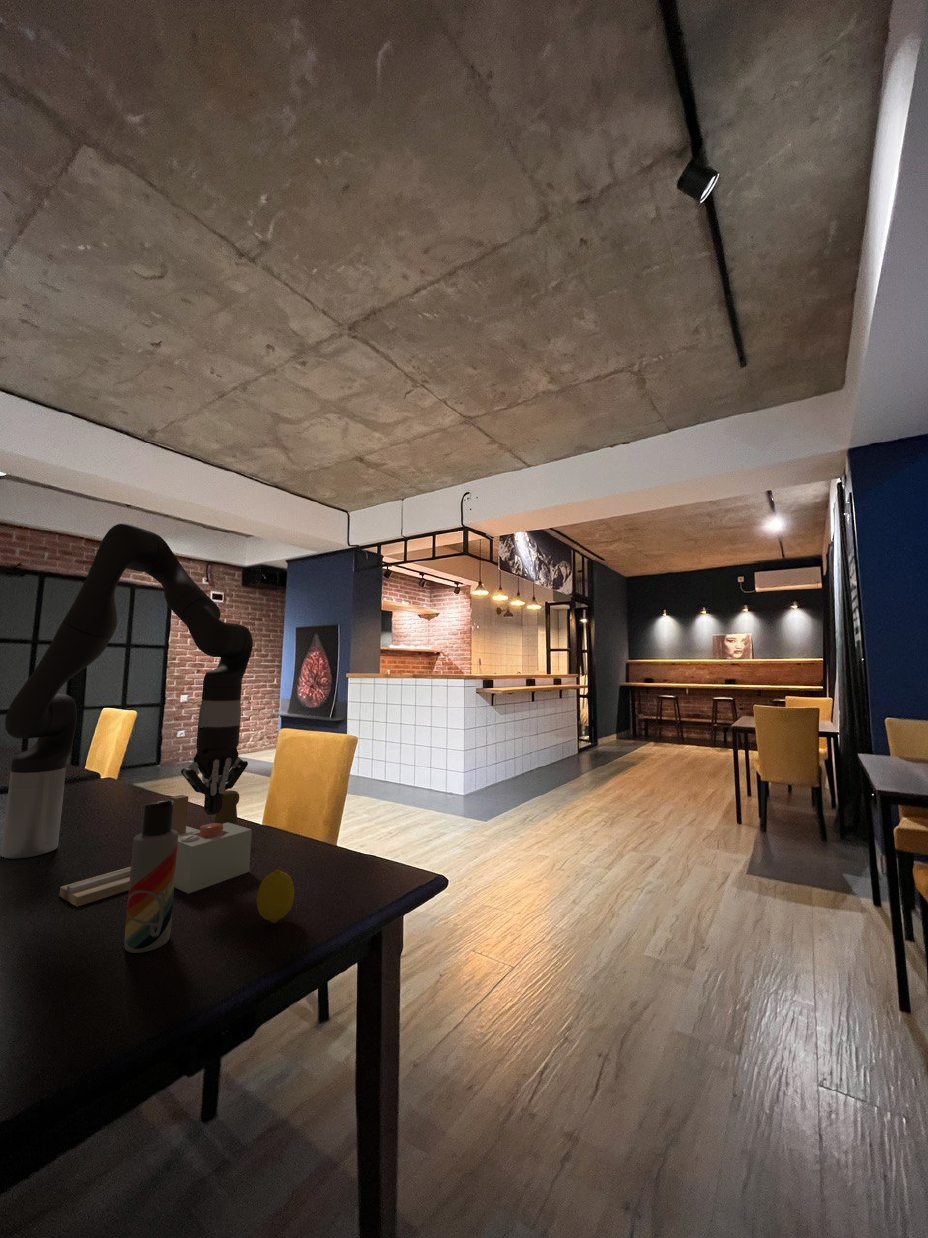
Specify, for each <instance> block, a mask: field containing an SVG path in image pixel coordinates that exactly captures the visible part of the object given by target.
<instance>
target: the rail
mask: <svg viewBox="0 0 928 1238" xmlns="http://www.w3.org/2000/svg"><path fill="white" fill-rule="evenodd" d="M130 872H131V866H128V867H125V868H122V869H118V870H114V871H110V872H108V873H107V872H106V873H104V874H100V875H97V876H93V877H90V878H86V879H83V880H79V881H76V882H72V883H70V884H65V885H62V886H60V887H59V888H60V889H59V895H58V896H59V897H61V898H62V899H63V900H65V901H67V902H69V904H72V905H73V906H75V907H81V906H84V905H87V904H90V903H94V902H96V901H100V900H101V899H102V900H103V899H105V898H109V897H112V896H115V895H118V894H122V893H124V892H127V891H129V883H130Z"/></svg>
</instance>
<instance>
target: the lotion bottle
mask: <svg viewBox="0 0 928 1238" xmlns="http://www.w3.org/2000/svg"><path fill="white" fill-rule="evenodd" d="M173 807H174V801H173V800H170V799H165V800H161V801H157V802H151V803H146V804H144V805H143V812H142V813H143V814H142V820H141V821H142V822H141V832H140V833H138V834H137V835H135V836H134V837H133V841H132V842H133V843H132V849H131V852H132V853H131V861H130V867H131V872H130V883H129V890H128V896H127V907H126V917H125V918H126V920H125V930H124V931H125V933H124V942H123V943H124V949H125V951H126V952H128V953H132V954H133V953H134V954H141V953H146V952H147V953H148V952H149V951H150V952H151V951H154V950H156V949H158V948H160V947H162V946H164V945H165V944H167V942H168V941H169V940H170V937H171V931H172V919H173V918H172V917H173V905H174V895H175V894H174V893H175V887H174V884H175V871H176V858H177V846H178V832H177V831H176V830H172V821H173Z"/></svg>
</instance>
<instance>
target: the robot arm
mask: <svg viewBox="0 0 928 1238" xmlns="http://www.w3.org/2000/svg"><path fill="white" fill-rule="evenodd" d="M126 569H127V570H131V571H136V572H141V573H145V574H147V575H149V576H150V577H152V578H153V579H155V580H156V581H157V582H158V583H160V585H161V586H162V588H163V592H164V593H163V594H164V598H165V601H166V604H167V605H168V607H169V608H170V610H171V611H172V612H173V613H174V614H175V616H177V617H178V618H179V620H181V622H182V623H184V625H185V626H186V627H187V629H188V631H189V634H190V636H191V638H192V640H193V642H194V644H195V646H196V647H197V648H198V649H199V650H200V652H201V653H203V654H205V655H207V656H209V657H212V658H220V659H219V663H218V665H217V667H216V668H214V669H212V670H208V671H207V672H206V673H205V674H204V676H203V681H202V682H203V683H202V688H201V689H202V691H201V693H202V694H201V701H200V702H201V703H200V707H199V712H198V722H197V735H196V744H195V747H196V754H195V756H194V757H193V762H192V763H191V764H190V765H188V767H183V768H182V769H181V771H180V774H182V776H183V778H184V779H185V780H186V781H187V783H188V784H189V785H190V787H191V788H192V789H193V790H194V792H196V793H200V794H203V795H204V802H203V803H204V805H203V811H204V812H205V814H206V815H209V816H215V815H216V814H218V813H219V810H221V808H222V799H223V793H224V791H228V790H230V789H233V788H234V786H235V784H236V783H237V782H238V780H239V779H240V777H241V775H243V773H244V771H245V769H247V767H248V765H249V763H248V761H246V760H243V759H242V758H240V757H239V756H240V755H239V751H238V746H239V745H240V733H241V732H240V730H241V719H242V706H241V705H242V704H241V702H242V699H241V698H242V686H243V685H242V684H243V678H244V676H245V673H246V670H247V667H248V664H249V661H250V658H251V655H252V652H253V647H254V646H253V645H254V639H253V636H252V633H251V631H250V630H249V628H247V626H244V625H243V624H239V623H233V622H232V623H231V622H224V621H222V620H220V619H221V615H222V614H221V610H220V607H219V606H218V605H217V603H215V601H214V600H213V599H212V598H211V597H210V596H209V595H208V594H207V593H206V592H205V591H204V590H203V589H202V588H201V587H200V586H199V585H198V584H197V583H196V582H195V581H194V580H193V579H192V577H191V576H190V575H189V574H188V572H187V571H186V569H185V568H184V567H183V566H182V564H181V563H180V561H179V560H178V558H177V557H176V555H175V553H174V552H173V551H172V548H171V547H170V546H169V545H168V543H167V542H166V541H165V539H164V538H163V537H161V536H160V535H159V534H157V533H155V532H153V531H150V530H147V529H144V528H141V527H138V526H136V525H133V524H129V523H122V522H121V523H117V524H115V525H113V526H111V528H109V530H108V531H107V532H106V534H105V535H104V537H103V538H102V540H101V542H100V545H99V546H98V548H97V551H96V554H95V557H94V558H93V561H92V563H91V566H90V568H89V571H88V573H87V575H86V578H85V580H84V581H83V584H82V586H81V588H80V590H79V591H78V593H77V595H76V598H75V599H74V601H73V603H72V605H71V606H70V608H69V610H68V612H67V613H66V614H65V616H64V618H63V620H62V622H61V624H60V625H59V626H58V628H57V630H56V632H55V635H54V636H53V639H52V641H51V642H50V643H49V644H50V645H48V648H47V649H46V651H45V653H44V655H43V656H42V657H41V660H40V661H39V662H38V664H37V666H36V667H35V669H34V671H32V673H31V675H30V676H29V678H28V679H27V681H25V683H24V684H23V686H22V687H21V688H20V690H19V691H18V693H17V694H16V696H15V697H14V699H13V700H12V701H11V703H10V705H9V707H8V708H7V709H8V710H7V711H6V715H5V720H4V728H5V730H6V732H7V734H8V735H9V736H11V737H12V738H14V739H23V740H24V739H36V738H37V741H36V743H35V744H33V745H32V746H31V747H30V748H29V749H27V750H26V751H24V752H21V753H20V754H17V755H15V756H14V757H13V758H12V760H11V765H10V774H9V782H8V793H7V803H6V808H5V816H4V817H5V818H4V826H3V835H2V844H1V851H0V857H1V856H2V858H3V857H4V859H25V858H31V857H36V856H41V855H44V854H47V853H50V852H52V851H54V850H56V849H57V848H58V846H59V838H60V830H61V820H62V809H63V800H64V791H65V782H66V781H65V779H66V772H67V771H66V770H67V762H68V760H69V759H68V758H70V755H71V753H72V751H73V750H72V749H73V745H74V744H73V743H74V738H75V733H76V732H75V731H76V726H77V720H78V719H77V718H78V709H77V705H76V701H75V700H74V698H73V697H72V696H70V695H68V694H64V693H58V692H59V691H60V689H61V688H62V687H63V686H64V685H65V684H66V683H67V682H68V681H69V680H71V679H72V678H73V677H75V676H76V675H77V674H78V673H80V672H81V671H82V670H84V669H86V667H88V666H90V665H91V664H92V663H93V662H95V661H96V660H97V659H98V658H100V656H101V655H102V654H103V653H104V651H105V650H106V648H107V646H108V644H109V642H110V641H111V639H112V637H113V635H114V633H115V631H116V630H117V625H118V613H117V607H116V599H115V593H116V588H117V585H118V583H119V581H120V579H121V577H122V576H123V574H124V572H125V571H126ZM199 772H200V773H199ZM199 774H201V778H200V777H199Z"/></svg>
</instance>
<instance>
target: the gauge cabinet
mask: <svg viewBox="0 0 928 1238" xmlns="http://www.w3.org/2000/svg"><path fill="white" fill-rule="evenodd" d="M252 830H253V829H251V828H248V827H244V826H242V825H239V824H238V825H235V824H232V823H224V824H223V835H220V836H216V837H212V838H209V839H205V838H202V837H200V829H197V831H193V832H189V833H185V834H181V835H178V846H177V858H176V871H175V884H174V889H178V890H180V891H181V892H184V893H186V894H187V895H189V894H191V893H195V892H197V891H199V890H202V889H205V888H208V887H210V886H213V885H216V884H219V883H222V882H225V881H226V880H230V879H233V878H236V877H238V876H242V875H245V874H246V873H249V872H250V864H251V851H252V850H251V848H252V835H253V832H252Z"/></svg>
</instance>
